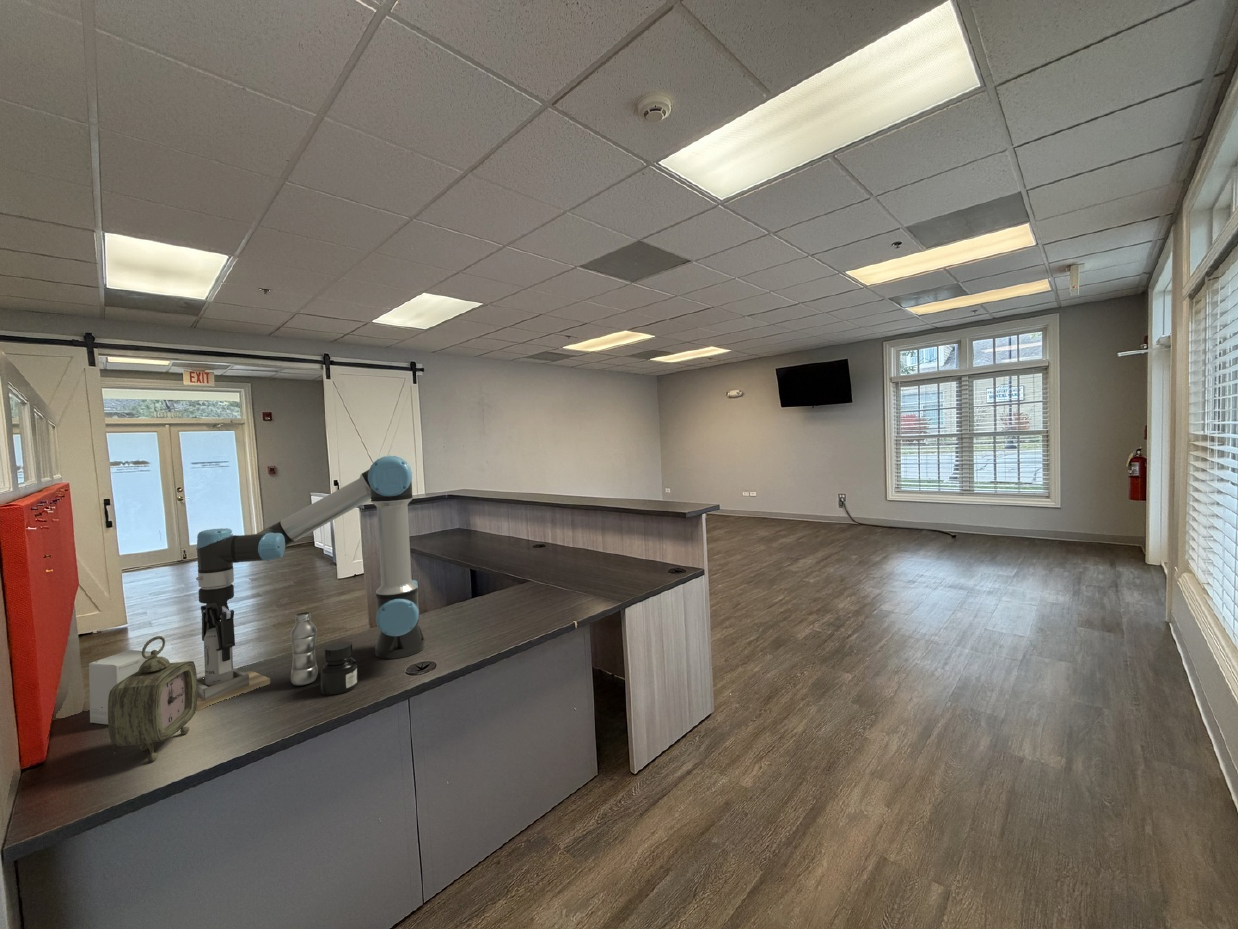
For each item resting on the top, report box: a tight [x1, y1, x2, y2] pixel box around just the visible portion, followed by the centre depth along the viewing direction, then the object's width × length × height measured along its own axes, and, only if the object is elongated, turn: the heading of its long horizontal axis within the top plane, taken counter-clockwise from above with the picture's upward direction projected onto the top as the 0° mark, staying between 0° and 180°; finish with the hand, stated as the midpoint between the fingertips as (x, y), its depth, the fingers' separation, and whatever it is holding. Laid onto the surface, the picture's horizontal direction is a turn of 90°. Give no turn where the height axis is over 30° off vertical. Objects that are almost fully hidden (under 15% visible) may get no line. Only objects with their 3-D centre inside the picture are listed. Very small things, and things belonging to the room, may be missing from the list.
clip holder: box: [195, 667, 271, 712], centre depth 137 cm, size 11×20×4 cm, turn 150°
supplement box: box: [88, 649, 151, 725], centre depth 126 cm, size 9×9×15 cm
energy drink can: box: [203, 628, 234, 687], centre depth 137 cm, size 6×6×15 cm
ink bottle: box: [320, 640, 358, 696], centre depth 139 cm, size 10×9×12 cm
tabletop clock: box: [107, 635, 198, 762], centre depth 111 cm, size 14×9×25 cm, turn 12°
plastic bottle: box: [289, 611, 319, 686], centre depth 142 cm, size 6×7×20 cm
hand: (219, 669), depth 137 cm, fingers closed on energy drink can, 6 cm apart
